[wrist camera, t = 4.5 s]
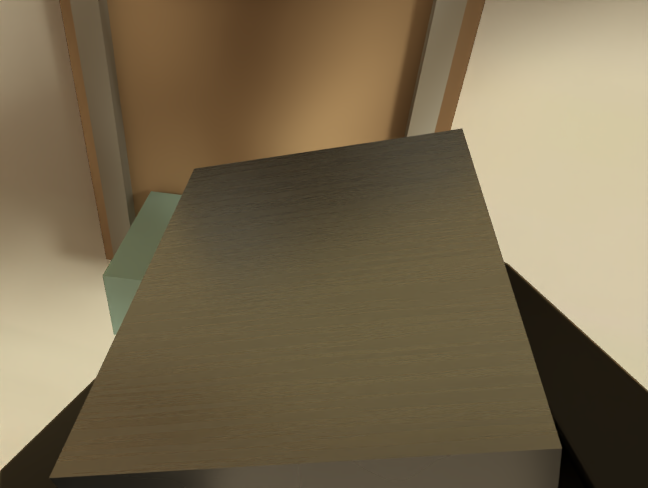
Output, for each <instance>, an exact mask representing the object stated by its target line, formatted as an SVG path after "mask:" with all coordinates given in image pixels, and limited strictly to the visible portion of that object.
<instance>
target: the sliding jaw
mask: <svg viewBox="0 0 648 488" xmlns="http://www.w3.org/2000/svg"><path fill="white" fill-rule="evenodd" d="M181 196H182V195H178V194H169V193H161V192H153V191H151V192H150V194H149V195H148V197H147V199H146V201H145V202H144V204H143V206H142V208H141V210H140V211H139V213H138V215H137V217H136V218H135V220H134V222H133V224H132V225H131V227H130V229H129V231H128V232H127V234H126V236H125V238H124V239H123V241H122V243H121V245H120V246H119V248H118V250H117V252H116V253H115V255H114V257H113V259H112V260H111V262H110V264H109V266H108V267H107V269H106V271H105V273H104V274H103V280H104V285H105V290H106V296H107V301H108V306H109V311H110V316H111V322H112V327H113V332H114V335H116V334H117V332H118V330H119V328H120V326H121V324H122V321H123V319H124V317H125V315H126V313H127V311H128V309H129V307H130V304H131V302H132V300H133V298H134V296H135V294H136V292H137V289H138V287H139V285H140V283H141V281H142V279H143V277H144V275H145V272H146V270H147V268H148V266H149V264H150V262H151V260H152V258H153V255H154V253H155V251H156V249H157V247H158V245H159V243H160V241H161V238H162V236H163V234H164V232H165V230H166V228H167V226H168V223H169V221H170V219H171V217H172V215H173V213H174V211H175V209H176V206H177V204H178V202H179V200H180V198H181Z"/></svg>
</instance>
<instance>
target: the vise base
mask: <svg viewBox="0 0 648 488" xmlns="http://www.w3.org/2000/svg"><path fill="white" fill-rule="evenodd" d="M59 1H60V6H61V12H62V17H63V23H64V28H65V34H66V39H67V45H68V50H69V56H70V61H71V67H72V72H73V78H74V83H75V89H76V94H77V100H78V105H79V111H80V116H81V122H82V127H83V133H84V138H85V144H86V149H87V155H88V160H89V166H90V171H91V177H92V182H93V188H94V193H95V199H96V204H97V210H98V215H99V221H100V226H101V232H102V237H103V243H104V248H105V254H106V259H109V260H112V259H113V257H114V255H115V253H116V252H117V250H118V248H119V246H120V245H121V243H122V241H123V239H124V238H125V236H126V234H127V232H128V231H129V229H130V227H131V225H132V224H133V222H134V220H135V218H136V217H137V215H138V213H139V211H140V210H141V208H142V206H143V204H144V202H145V201H146V199H147V197H148V195H149V194H150V192H151V191H153V192H161V193H169V194H178V195H182V194H183V192H184V189H185V187H186V185H187V183H188V181H189V179H190V177H191V174H192V172H193V170H194V169H195V168H202V167H208V166H215V165H222V164H228V163H235V162H242V161H249V160H255V159H262V158H269V157H275V156H282V155H289V154H295V153H302V152H309V151H316V150H322V149H329V148H336V147H342V146H349V145H356V144H362V143H369V142H376V141H383V140H389V139H396V138H403V137H409V136H416V135H423V134H429V133H436V132H443V131H450V130H451V126H452V122H453V118H454V115H455V111H456V107H457V104H458V100H459V96H460V92H461V89H462V85H463V81H464V78H465V74H466V70H467V66H468V63H469V59H470V55H471V52H472V48H473V44H474V40H475V37H476V33H477V29H478V26H479V22H480V18H481V14H482V11H483V7H484V3H485V0H59Z"/></svg>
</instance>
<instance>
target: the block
mask: <svg viewBox="0 0 648 488" xmlns="http://www.w3.org/2000/svg"><path fill="white" fill-rule="evenodd" d="M561 454H562V446H561V443H560V440H559V437H558V434H557V430H556V427H555V424H554V421H553V418H552V414H551V411H550V408H549V405H548V402H547V398H546V395H545V392H544V389H543V386H542V382H541V379H540V376H539V373H538V370H537V366H536V363H535V360H534V357H533V354H532V350H531V347H530V344H529V341H528V338H527V334H526V331H525V328H524V325H523V322H522V318H521V315H520V312H519V309H518V306H517V302H516V299H515V296H514V293H513V290H512V286H511V283H510V280H509V277H508V274H507V270H506V267H505V264H504V261H503V258H502V254H501V251H500V248H499V245H498V242H497V238H496V235H495V232H494V229H493V226H492V222H491V219H490V216H489V213H488V210H487V206H486V203H485V200H484V197H483V194H482V190H481V187H480V184H479V181H478V178H477V174H476V171H475V168H474V165H473V162H472V158H471V155H470V152H469V149H468V146H467V142H466V139H465V136H464V133H463V130H462V129H456V130H450V131H443V132H436V133H429V134H423V135H416V136H409V137H403V138H396V139H389V140H383V141H376V142H369V143H362V144H356V145H349V146H342V147H336V148H329V149H322V150H316V151H309V152H302V153H295V154H289V155H282V156H275V157H269V158H262V159H255V160H249V161H242V162H235V163H228V164H222V165H215V166H208V167H202V168H195V169H194V170H193V172H192V174H191V177H190V179H189V181H188V183H187V185H186V187H185V189H184V192H183V194H182V196H181V198H180V200H179V202H178V204H177V206H176V209H175V211H174V213H173V215H172V217H171V219H170V221H169V223H168V226H167V228H166V230H165V232H164V234H163V236H162V238H161V241H160V243H159V245H158V247H157V249H156V251H155V253H154V255H153V258H152V260H151V262H150V264H149V266H148V268H147V270H146V272H145V275H144V277H143V279H142V281H141V283H140V285H139V287H138V289H137V292H136V294H135V296H134V298H133V300H132V302H131V304H130V307H129V309H128V311H127V313H126V315H125V317H124V319H123V321H122V324H121V326H120V328H119V330H118V332H117V334H116V336H115V338H114V341H113V343H112V345H111V347H110V349H109V351H108V353H107V356H106V358H105V360H104V362H103V364H102V366H101V368H100V370H99V373H98V375H97V377H96V379H95V381H94V383H93V385H92V387H91V390H90V392H89V394H88V396H87V398H86V400H85V402H84V405H83V407H82V409H81V411H80V413H79V415H78V417H77V419H76V422H75V424H74V426H73V428H72V430H71V432H70V434H69V436H68V439H67V441H66V443H65V445H64V447H63V449H62V451H61V453H60V456H59V458H58V460H57V462H56V464H55V466H54V468H53V471H52V473H51V475H50V477H49V479H50V480H51V481H52V482H53V483H54V484H55V485H56V486H57V488H558V482H559V473H560V463H561Z"/></svg>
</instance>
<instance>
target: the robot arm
mask: <svg viewBox="0 0 648 488" xmlns="http://www.w3.org/2000/svg"><path fill="white" fill-rule="evenodd" d="M504 264H505V267H506V270H507V274H508V277H509V280H510V283H511V286H512V290H513V293H514V296H515V299H516V302H517V306H518V309H519V312H520V315H521V318H522V322H523V325H524V328H525V331H526V334H527V338H528V341H529V344H530V347H531V350H532V354H533V357H534V360H535V363H536V366H537V370H538V373H539V376H540V379H541V382H542V386H543V389H544V392H545V395H546V398H547V402H548V405H549V408H550V411H551V414H552V418H553V421H554V424H555V427H556V430H557V434H558V437H559V440H560V443H561V446H562V454H561V463H560V473H559V482H558V488H648V390H647V389H645V388H644V387H643V386H642V385H641V384H640V383H639V382H638V381H637V380H636V379H634V378H633V377H632V376H631V375H630V374H629V373H628V372H627V371H626V370H625V369H623V368H622V367H621V366H620V365H619V364H618V363H617V362H616V361H615V360H614V359H612V358H611V357H610V356H609V355H608V354H607V353H606V352H605V351H604V350H603V349H601V348H600V347H599V346H598V345H597V344H596V343H595V342H594V341H593V340H592V339H590V338H589V337H588V336H587V335H586V334H585V333H584V332H583V331H582V330H580V329H579V328H578V327H577V326H576V325H575V324H574V323H573V322H572V321H571V320H569V319H568V318H567V317H566V316H565V315H564V314H563V313H562V312H561V311H560V310H558V309H557V308H556V307H555V306H554V305H553V304H552V303H551V302H550V301H549V300H547V299H546V298H545V297H544V296H543V295H542V294H541V293H540V292H539V291H538V290H536V289H535V288H534V287H533V286H532V285H531V284H530V283H529V282H528V281H527V280H525V279H524V278H523V277H522V276H521V275H520V274H519V273H518V272H517V271H516V270H514V269H513V268H512V267H511V266H510V265H509V264H507V263H505V262H504ZM95 379H96V378H95ZM95 379H94V380H93V381H92V382H91V383H90V384H89V385H88V386H87V387H86V388H85V389H84V390H83V391H82V392H81V393H80V394H79V395H78V396H77V397H76V398H75V399H74V400H73V401H72V402H71V403H69V404H68V405H67V406H66V407H65V408H64V409H63V410H62V411H61V412H60V413H59V414H58V415H57V416H56V417H55V418H54V419H53V420H52V421H51V422H50V423H49V424H48V425H47V426H46V427H45V428H44V429H43V430H42V431H41V432H40V433H39V434H38V435H36V436H35V437H34V438H33V439H32V440H31V441H30V442H29V443H28V444H27V445H26V446H25V447H24V448H23V449H22V450H21V451H20V452H19V453H18V454H17V455H16V456H15V457H14V458H13V459H12V460H11V461H10V462H9V463H8V464H7V465H5V466H4V467H3V468H2V469H1V471H0V488H57V486H56V485H55V484H54V483H53V482H52V481H51V480H50V479H49V477H50V475H51V473H52V471H53V468H54V466H55V464H56V462H57V460H58V458H59V456H60V453H61V451H62V449H63V447H64V445H65V443H66V441H67V439H68V436H69V434H70V432H71V430H72V428H73V426H74V424H75V422H76V419H77V417H78V415H79V413H80V411H81V409H82V407H83V405H84V402H85V400H86V398H87V396H88V394H89V392H90V390H91V387H92V385H93V383H94V381H95Z"/></svg>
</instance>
